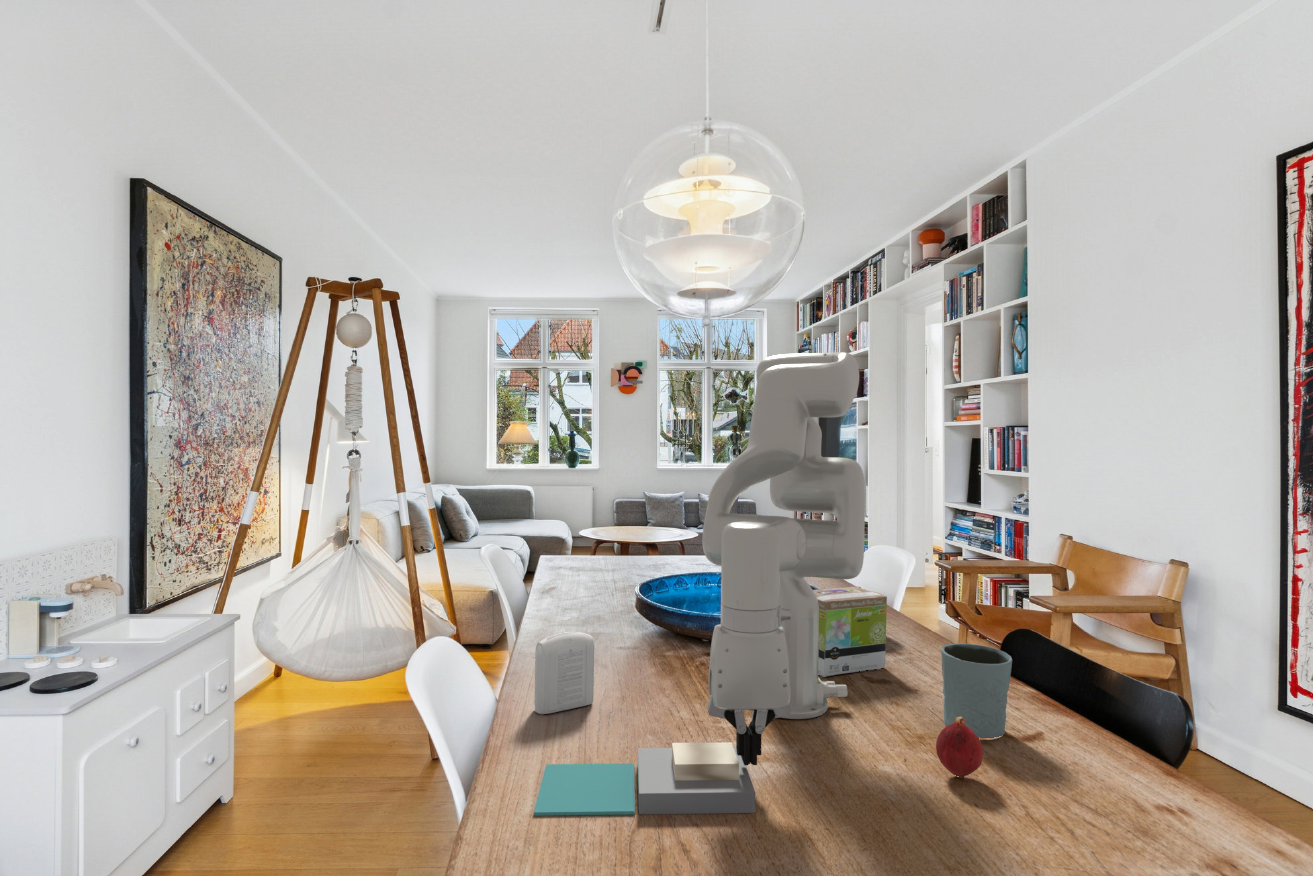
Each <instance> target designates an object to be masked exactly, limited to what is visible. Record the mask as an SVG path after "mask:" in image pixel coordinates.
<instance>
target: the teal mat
mask: <svg viewBox="0 0 1313 876" xmlns="http://www.w3.org/2000/svg"><path fill="white" fill-rule="evenodd" d="M635 797H636V796H635V763H634V762H633V763H629V762H628V763H627V762H626V763H555V764H554V763H552V764H551V763H547V764H545V768H544V770H543V775H542V780H541V783H540V787H539V791H538V795H537V799H536V803H535V807H534V811H533V816H537V817H538V816H539V817H541V816H543V817H544V816H545V817H546V816H550V817H551V816H552V817H553V816H603V815H604V816H607V815H608V816H609V815H612V816H615V815H616V816H617V815H618V816H619V815H622V816H623V815H627V816H628V815H635V814H636V811H635V810H636V808H635V807H636V806H635V805H636V804H635V800H636V799H635Z"/></svg>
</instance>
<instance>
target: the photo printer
mask: <svg viewBox="0 0 1313 876" xmlns="http://www.w3.org/2000/svg"><path fill="white" fill-rule="evenodd" d="M534 658H535V661H534V663H535V665H534V666H535V667H534V712H535V713H537V714H539V715H545V714H547V715H548V714H552V713H553V714H554V713H558V712H563V711H567V710H572V709H576V708H582V707H586V706H590V705H592V704H593V703H594V693H595V692H594V685H595V684H594V683H595V682H594V681H595V680H594V679H595V642H594V638H593V636H592V635H591V634H588V633H585V632H581V631H565V632H560V633H559V632H558V633H556V634H552V635H550V636H547V637H545V638H543V639H542V640H540V641H538V642H537V643H536V646H535V657H534Z"/></svg>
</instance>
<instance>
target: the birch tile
mask: <svg viewBox="0 0 1313 876" xmlns="http://www.w3.org/2000/svg"><path fill="white" fill-rule="evenodd" d="M734 747H735V746H734V745H733V742H730V741H729V742H724V741H723V742H672V743H671V748H672V762H673V770H674V777H675V780H739V762H738V759H737V756H736V753H735V750H734Z"/></svg>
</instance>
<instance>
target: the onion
mask: <svg viewBox="0 0 1313 876" xmlns="http://www.w3.org/2000/svg"><path fill="white" fill-rule="evenodd" d="M935 742H936V743H935V750H936V755H937V757H938V760H939V762H940V764H941V765H942V766H943V767H944V768H945V769H946V770H947V771H948V772H949V773H951V774H952V775H953V776H955V775H956V776H959V777H963V778H964V776H965V777H966V776H968V775H971V774H973V773H974V772H975V771H977V770H978V769H979V768H980V767H981V765H982V764H983V763H982V762H983V759H984V747H983V745H982V742H981V740H979V738H978V737H977V735H976V734H975V733H974V731H973V730H972V729H970V728H969V727H968V726H966V725H965V719H963V718H962V717H961V716H960V717H956V720H955V721H954V723H953V724H951V725H948V726H945V727H943V729H942V730H941V731H940V733H939V734H938V736H937V738H936V741H935ZM956 776H955V777H956Z"/></svg>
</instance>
